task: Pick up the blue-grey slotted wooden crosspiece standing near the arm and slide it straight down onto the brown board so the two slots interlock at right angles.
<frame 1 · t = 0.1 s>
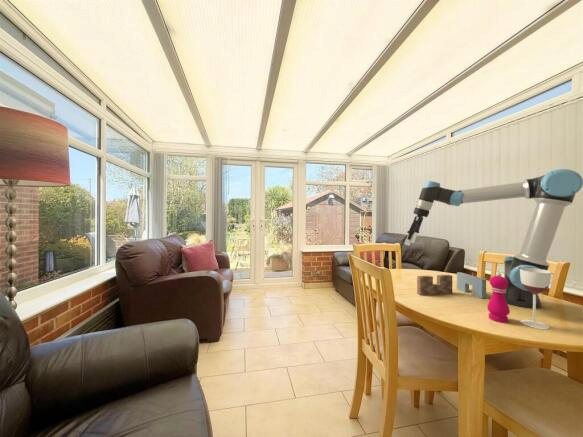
hand: (409, 243, 138), 28 cm above the table, tool tilted 20°, fingers open, 13 cm apart
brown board: (434, 293, 135), on the table
pepper mill: (498, 319, 102), on the table
wineglass: (534, 324, 97), on the table
crosspiece: (470, 293, 135), on the table
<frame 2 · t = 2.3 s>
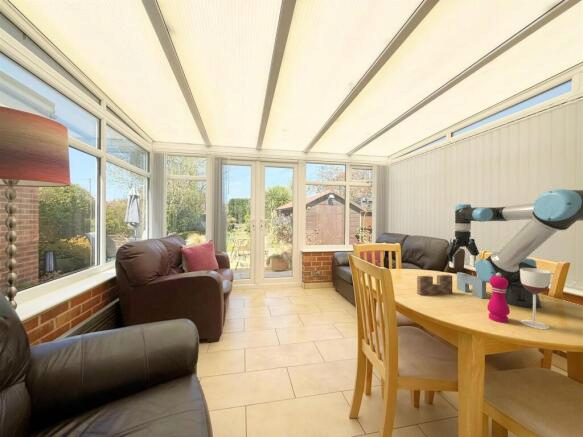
hand: (462, 266, 141), 14 cm above the table, tool pointing down, fingers open, 13 cm apart
nothing on the table moved.
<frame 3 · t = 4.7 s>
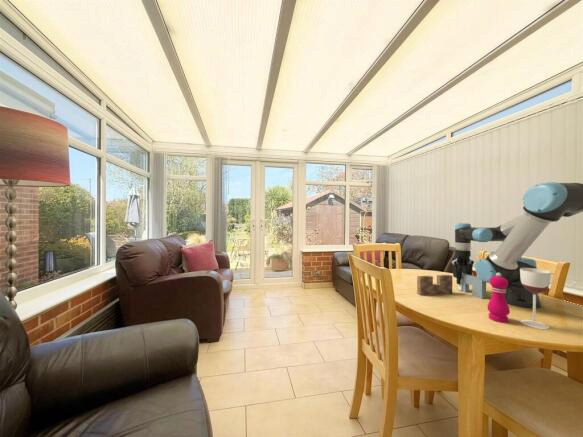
hand: (462, 289, 141), 1 cm above the table, tool pointing down, fingers closed on crosspiece, 2 cm apart
crosspiece: (470, 293, 135), on the table, touching gripper
everything else where it was.
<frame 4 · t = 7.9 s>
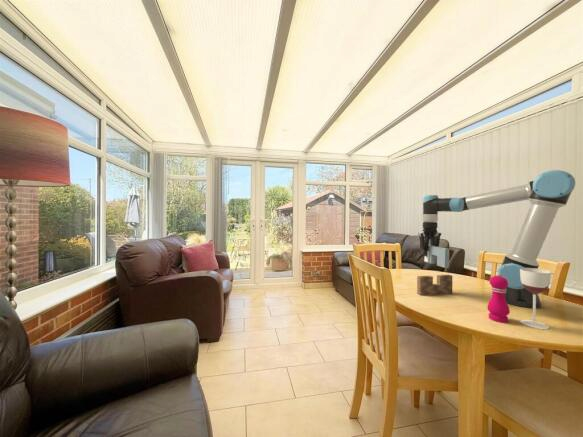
hand: (429, 261, 141), 17 cm above the table, tool pointing down, fingers closed on crosspiece, 2 cm apart
crosspiece: (435, 264, 135), point 16 cm above the table, touching gripper
everything else where it was.
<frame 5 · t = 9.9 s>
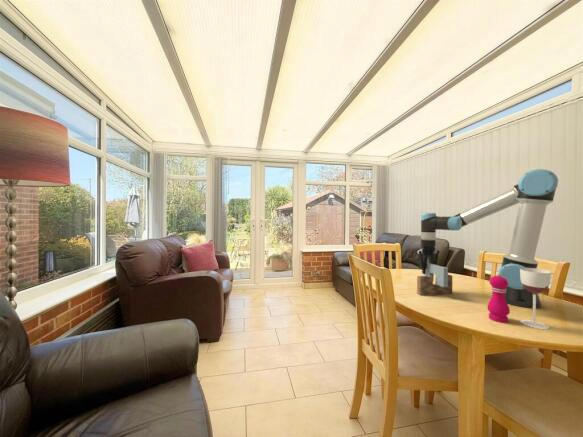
hand: (427, 279, 141), 7 cm above the table, tool pointing down, fingers closed on crosspiece, 2 cm apart
crosspiece: (434, 282, 135), point 6 cm above the table, touching gripper
everything else where it was.
when the fingers open (2 cm above the table, at t = 11.5 s): crosspiece drops 2 cm, on the table.
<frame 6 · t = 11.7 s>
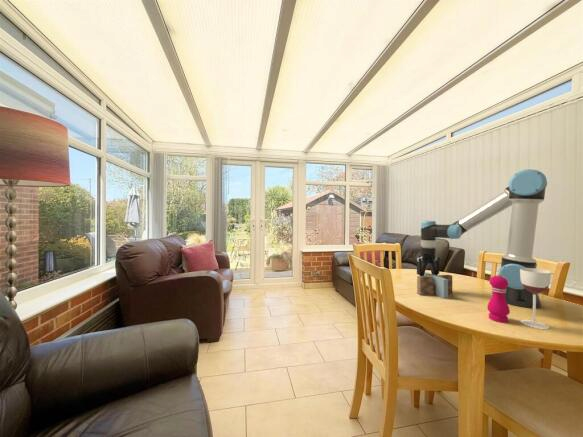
hand: (427, 286, 141), 2 cm above the table, tool pointing down, fingers open, 5 cm apart
crosspiece: (434, 293, 135), on the table
everything else where it was.
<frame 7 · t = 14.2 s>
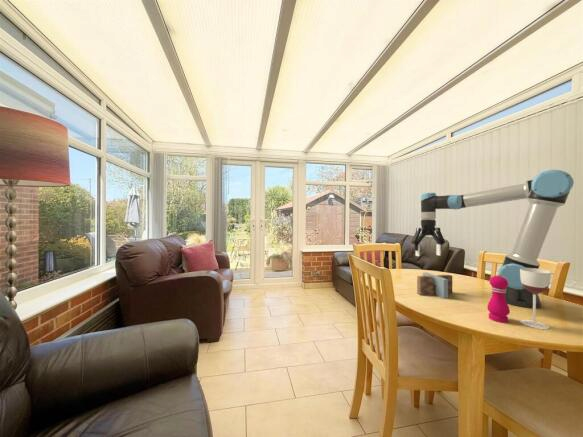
hand: (428, 255, 140), 20 cm above the table, tool pointing down, fingers open, 13 cm apart
nothing on the table moved.
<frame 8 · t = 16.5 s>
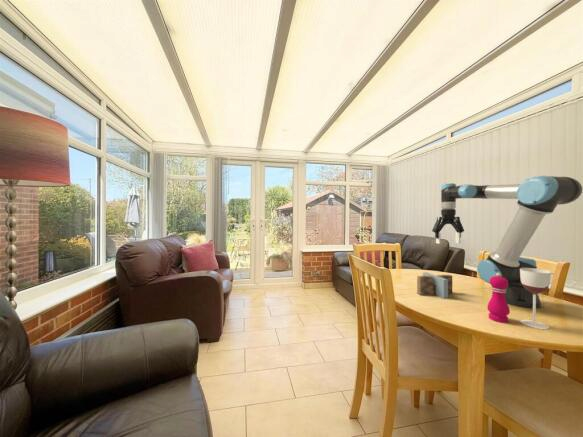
hand: (448, 243, 148), 27 cm above the table, tool pointing down, fingers open, 13 cm apart
nothing on the table moved.
at the end: crosspiece 0.2 cm off-centre on the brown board, point 0.0 cm above the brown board's base; crosspiece tilted 0°; the gripper is holding nothing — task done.
